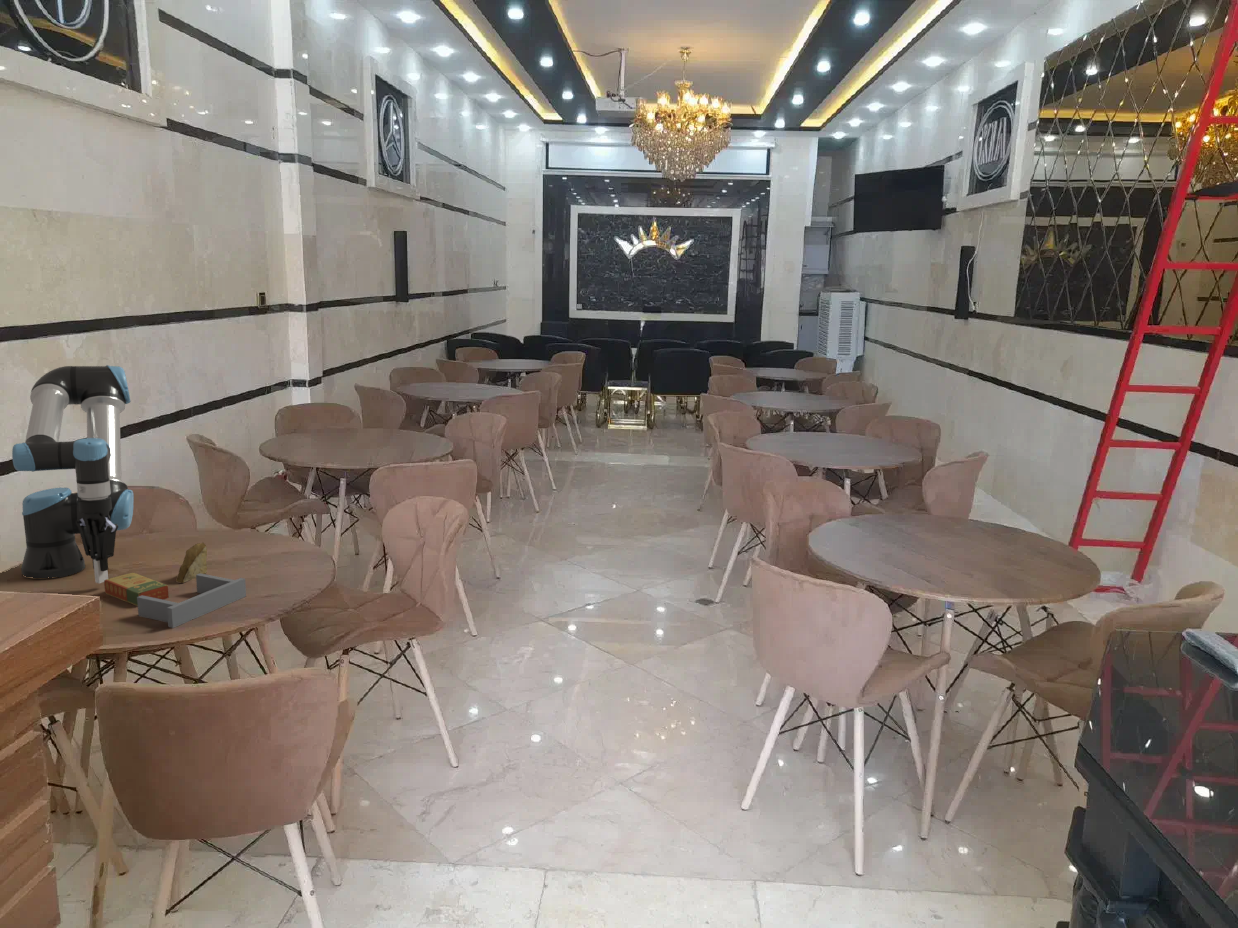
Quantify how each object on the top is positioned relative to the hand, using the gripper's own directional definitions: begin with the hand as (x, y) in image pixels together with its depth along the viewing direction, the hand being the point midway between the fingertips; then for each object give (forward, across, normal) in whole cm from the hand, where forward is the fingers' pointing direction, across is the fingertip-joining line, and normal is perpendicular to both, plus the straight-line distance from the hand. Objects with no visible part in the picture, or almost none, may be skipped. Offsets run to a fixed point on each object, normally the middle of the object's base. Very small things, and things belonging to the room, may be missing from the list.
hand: (101, 581), depth 233 cm
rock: (+2, +13, +17) cm, 22 cm away
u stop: (+2, +31, 0) cm, 31 cm away
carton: (+3, +12, 0) cm, 12 cm away
